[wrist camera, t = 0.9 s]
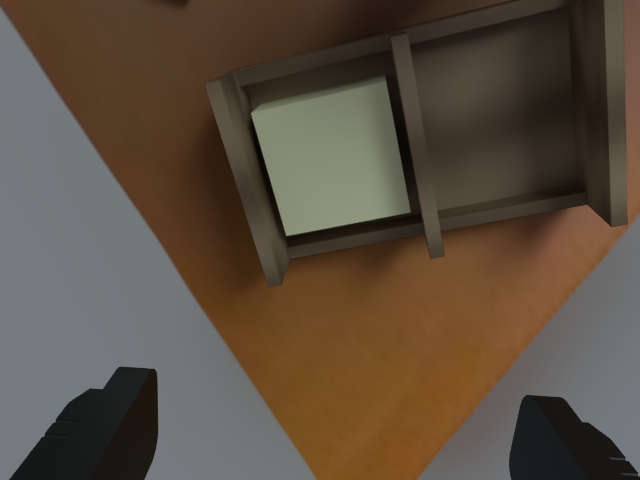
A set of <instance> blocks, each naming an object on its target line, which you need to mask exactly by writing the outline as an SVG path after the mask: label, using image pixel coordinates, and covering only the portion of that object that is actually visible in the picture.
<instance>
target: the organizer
mask: <svg viewBox="0 0 640 480" xmlns="http://www.w3.org/2000/svg"><path fill="white" fill-rule="evenodd" d="M381 75H385V78H386V83H387V88H388V94H389V99H390V104H391V110H392V115H393V120H394V126H395V131H396V136H397V142H398V147H399V152H400V158H401V163H402V168H403V174H404V179H405V184H406V190H407V195H408V200H409V206H410V211H411V212H410V213H405V214H400V215H395V216H389V217H384V218H379V219H374V220H368V221H363V222H358V223H353V224H347V225H342V226H337V227H332V228H326V229H321V230H316V231H311V232H305V233H300V234H295V235H290V236H286V233H285V230H284V226H283V223H282V219H281V216H280V212H279V209H278V205H277V202H276V198H275V195H274V191H273V188H272V185H271V181H270V178H269V174H268V171H267V167H266V164H265V160H264V157H263V153H262V150H261V146H260V143H259V140H258V136H257V133H256V129H255V126H254V122H253V119H252V115H251V113H252V112H253V111H254V110H255V109H256V108H257V107H258V106H259V105H261V104H263V103H267V102H272V101H276V100H280V99H284V98H288V97H293V96H297V95H301V94H305V93H309V92H314V91H318V90H322V89H326V88H330V87H334V86H339V85H343V84H347V83H351V82H355V81H360V80H364V79H368V78H372V77H376V76H381ZM205 87H206V90H207V93H208V97H209V100H210V103H211V106H212V109H213V112H214V116H215V119H216V122H217V125H218V128H219V131H220V135H221V138H222V141H223V144H224V147H225V150H226V154H227V157H228V160H229V163H230V166H231V169H232V173H233V176H234V179H235V182H236V185H237V188H238V192H239V195H240V198H241V201H242V204H243V207H244V211H245V214H246V217H247V220H248V223H249V226H250V230H251V233H252V236H253V239H254V242H255V246H256V249H257V252H258V255H259V258H260V261H261V265H262V268H263V271H264V274H265V277H266V280H267V284H268V287H272V286H277V285H282V281H283V278H284V275H285V272H286V269H287V266H288V263H289V260H290V259H292V258H298V257H303V256H309V255H314V254H320V253H325V252H331V251H336V250H342V249H347V248H352V247H358V246H363V245H369V244H374V243H380V242H385V241H391V240H396V239H402V238H407V237H413V236H418V235H424V234H425V237H426V242H427V246H428V250H429V255H430V259H432V258H438V257H443V256H445V255H444V249H443V243H442V237H441V231H445V230H451V229H456V228H462V227H467V226H473V225H478V224H484V223H489V222H495V221H500V220H506V219H511V218H516V217H522V216H527V215H533V214H538V213H544V212H549V211H555V210H560V209H566V208H571V207H577V206H582V205H588V206H589V207H590V208H591V209H593V210H594V211H595V212H596V213H597V214H598V215H599V216H600V217H601V218H602V219H603V220H604V221H605V222H607V223H608V224H609V225H610V226H611V227H615V226H621V225H627V224H628V218H627V168H626V118H625V68H624V18H623V0H511V1H507V2H503V3H499V4H495V5H491V6H487V7H483V8H479V9H475V10H471V11H467V12H463V13H459V14H455V15H451V16H448V17H444V18H440V19H436V20H432V21H428V22H424V23H420V24H416V25H412V26H408V27H404V28H400V29H396V30H392V31H388V32H384V33H380V34H376V35H372V36H368V37H364V38H360V39H356V40H352V41H349V42H345V43H341V44H337V45H333V46H329V47H325V48H321V49H317V50H313V51H309V52H305V53H301V54H297V55H293V56H289V57H285V58H281V59H277V60H273V61H269V62H265V63H261V64H257V65H254V66H250V67H246V68H242V69H238V70H234V71H231V72H229V73H227V74H225V75H223V76H221V77H219V78H217V79H214V80H212V81H210V82H208V83H206V84H205Z"/></svg>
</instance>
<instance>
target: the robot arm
mask: <svg viewBox="0 0 640 480" xmlns="http://www.w3.org/2000/svg"><path fill="white" fill-rule="evenodd" d="M157 438H158V390H157V372H156V370H155V369H147V368H133V367H119V368H118V369H117V370H116V371H115V373H114V374H113V375H112V377H111V378H110V380H109V381H108V383H107V384H106V385H105V387H104V388H103V389H89V390H87V391H86V392H84V393H83V394H81V395H80V396H78V397H77V398H75V399H73V400H72V401H70V402H69V403H68V404H67V406H66V407H65V408H64V410H63V411H62V412H61V413H60V415H59V416H58V417H57V419H56V422H55V423H53V424H52V425H51V426H50V428H49V429H48V430H47V432H46V433H45V436H44V437H42V438H41V439H40V441H39V442H38V443H37V445H36V446H35V447H34V448H33V450H32V451H31V452H30V454H29V455H28V456H27V458H26V459H25V460H24V461H23V463H22V464H21V465H20V466H19V468H18V469H17V470H16V472H15V473H14V474H13V476H12V477H11V478H10V479H9V480H144V479H145V477H146V474H147V472H148V470H149V467H150V465H151V463H152V461H153V457H154V454H155V450H156V445H157ZM509 468H510V476H511V480H640V477H638V472H637V471H636V470H635V469H634V467H633V466H632V465H631V464H630V462H629V461H626V460H625V456H624V455H623V454H622V453H621V451H620V450H619V449H618V448H617V446H616V445H615V444H614V443H613V441H612V440H611V439H610V438H608V437H607V436H606V435H604V434H603V433H602V432H600V431H599V430H598V429H596V428H595V427H594V426H592V425H591V424H589V423H586V422H582V421H581V420H580V419H579V418H578V416H577V415H576V413H575V412H574V411H573V410H572V408H571V407H570V406H569V404H568V403H567V402H566V401H565V400H564V399H563V398H561V397H548V396H534V395H526V396H525V397H524V398H523V399H522V402H521V405H520V409H519V414H518V419H517V423H516V428H515V433H514V437H513V442H512V447H511V451H510V458H509Z"/></svg>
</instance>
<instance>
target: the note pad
mask: <svg viewBox="0 0 640 480" xmlns="http://www.w3.org/2000/svg"><path fill="white" fill-rule="evenodd" d="M251 115H252V119H253V122H254V126H255V129H256V133H257V136H258V140H259V143H260V146H261V150H262V153H263V157H264V160H265V164H266V167H267V171H268V174H269V178H270V181H271V185H272V188H273V191H274V195H275V198H276V202H277V205H278V209H279V212H280V216H281V219H282V223H283V226H284V230H285V233H286V236H290V235H295V234H300V233H305V232H311V231H316V230H321V229H326V228H332V227H337V226H342V225H347V224H353V223H358V222H363V221H368V220H374V219H379V218H384V217H389V216H395V215H400V214H405V213H410V212H411V211H410V206H409V200H408V195H407V190H406V184H405V179H404V174H403V168H402V163H401V158H400V152H399V147H398V142H397V136H396V131H395V126H394V120H393V115H392V110H391V104H390V99H389V94H388V88H387V83H386V78H385V75H381V76H376V77H372V78H368V79H364V80H360V81H355V82H351V83H347V84H343V85H339V86H334V87H330V88H326V89H322V90H318V91H314V92H309V93H305V94H301V95H297V96H293V97H288V98H284V99H280V100H276V101H272V102H267V103H263V104H261V105H259V106H258V107H257V108H256V109H255V110H254V111H253V112H252V113H251Z"/></svg>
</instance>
